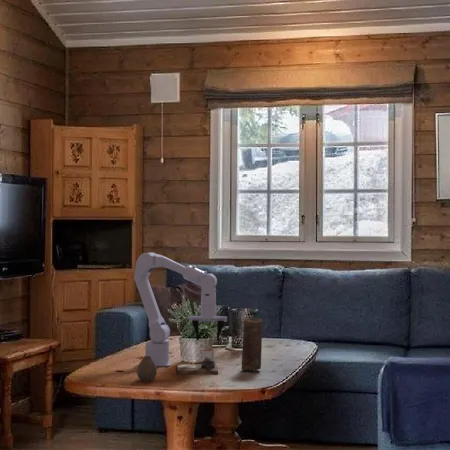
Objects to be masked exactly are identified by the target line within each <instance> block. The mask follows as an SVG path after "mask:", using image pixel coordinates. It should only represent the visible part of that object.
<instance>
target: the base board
mask: <svg viewBox="0 0 450 450" xmlns="http://www.w3.org/2000/svg"><path fill="white" fill-rule="evenodd" d="M177 375H219V369H218V365H217V364H216V362H215V361H214V363H202V361H201V362H200V363H196V364H195V363H193V364H192V363H177Z"/></svg>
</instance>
